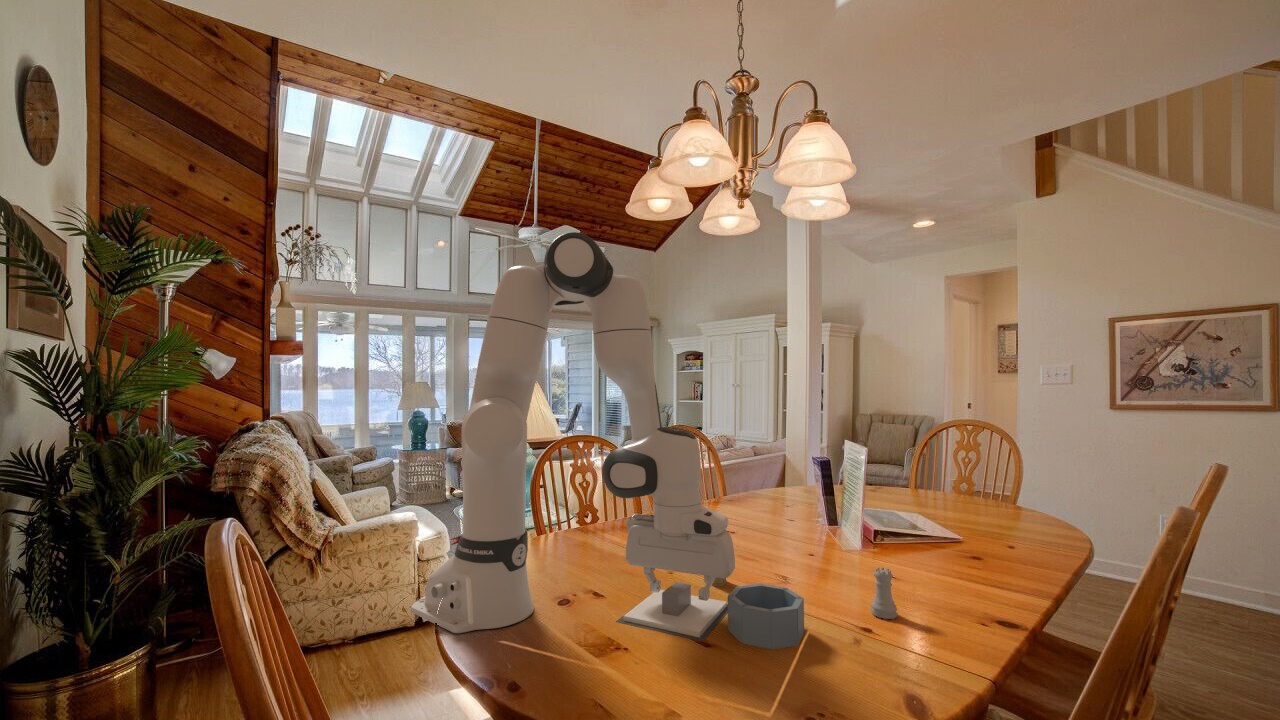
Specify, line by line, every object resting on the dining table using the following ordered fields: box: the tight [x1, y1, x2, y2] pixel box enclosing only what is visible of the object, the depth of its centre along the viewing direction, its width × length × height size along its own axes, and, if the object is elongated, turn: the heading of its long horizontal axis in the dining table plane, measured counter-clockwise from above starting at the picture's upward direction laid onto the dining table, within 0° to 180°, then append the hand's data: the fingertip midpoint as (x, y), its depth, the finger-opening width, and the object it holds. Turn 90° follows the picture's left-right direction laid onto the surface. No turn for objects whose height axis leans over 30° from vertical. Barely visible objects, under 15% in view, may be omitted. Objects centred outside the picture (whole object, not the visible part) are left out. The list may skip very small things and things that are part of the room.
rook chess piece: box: [870, 567, 898, 620], centre depth 98 cm, size 4×4×8 cm
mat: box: [615, 592, 728, 642], centre depth 98 cm, size 16×16×1 cm
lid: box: [623, 581, 728, 637], centre depth 98 cm, size 14×14×4 cm
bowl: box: [727, 583, 805, 651], centre depth 91 cm, size 12×12×6 cm
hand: (679, 595), depth 99 cm, fingers open, 8 cm apart
